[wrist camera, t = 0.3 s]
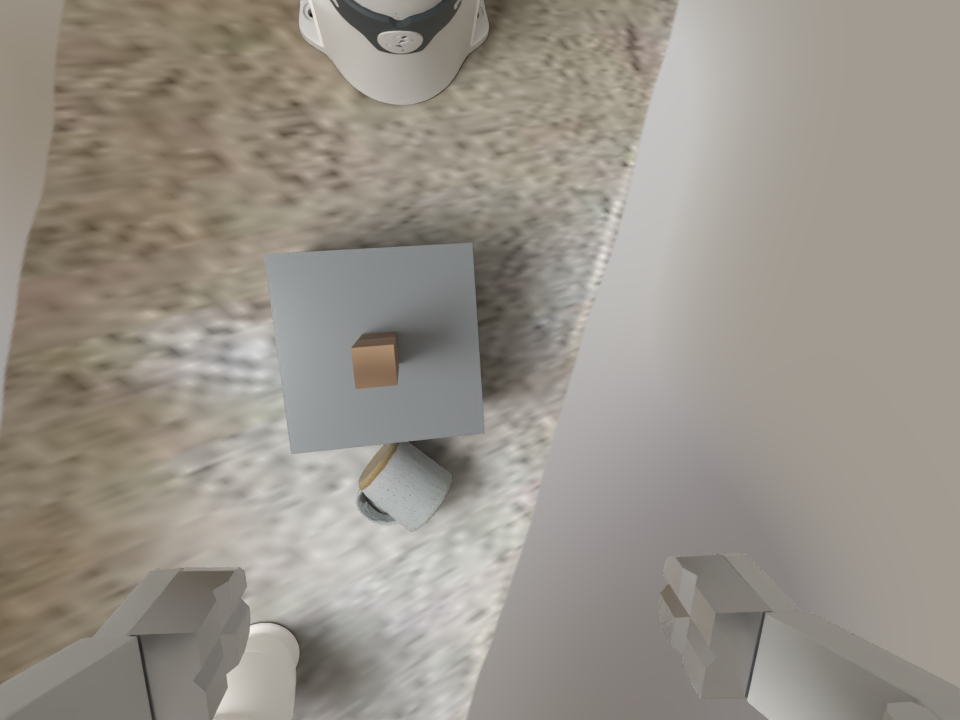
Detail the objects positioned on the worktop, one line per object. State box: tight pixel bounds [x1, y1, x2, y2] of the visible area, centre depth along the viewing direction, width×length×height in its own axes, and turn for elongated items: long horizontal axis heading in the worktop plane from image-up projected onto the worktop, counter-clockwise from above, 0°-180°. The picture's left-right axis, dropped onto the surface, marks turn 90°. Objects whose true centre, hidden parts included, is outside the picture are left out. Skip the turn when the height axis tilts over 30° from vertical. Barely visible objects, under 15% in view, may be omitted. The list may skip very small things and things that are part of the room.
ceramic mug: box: [356, 442, 452, 531], centre depth 53 cm, size 11×8×8 cm
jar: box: [213, 623, 300, 720], centre depth 51 cm, size 11×10×15 cm
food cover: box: [264, 243, 485, 454], centre depth 45 cm, size 18×18×20 cm
